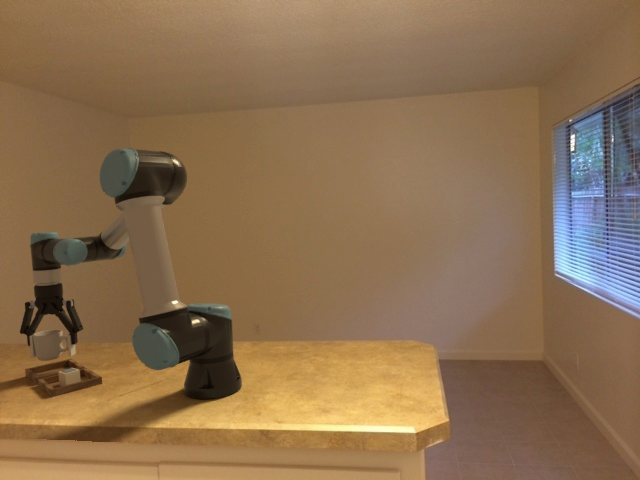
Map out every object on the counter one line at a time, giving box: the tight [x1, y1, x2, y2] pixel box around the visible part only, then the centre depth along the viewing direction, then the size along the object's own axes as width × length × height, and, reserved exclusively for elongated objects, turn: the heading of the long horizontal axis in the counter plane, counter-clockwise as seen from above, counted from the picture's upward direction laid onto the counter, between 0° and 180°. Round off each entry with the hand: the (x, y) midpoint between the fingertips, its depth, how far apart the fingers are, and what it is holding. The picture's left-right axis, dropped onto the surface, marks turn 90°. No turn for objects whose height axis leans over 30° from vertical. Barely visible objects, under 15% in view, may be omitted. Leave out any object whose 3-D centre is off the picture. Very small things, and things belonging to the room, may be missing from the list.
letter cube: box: [58, 368, 81, 386], centre depth 140 cm, size 4×4×4 cm
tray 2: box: [37, 367, 103, 398], centre depth 140 cm, size 13×13×2 cm
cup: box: [33, 329, 68, 362], centre depth 149 cm, size 11×8×8 cm
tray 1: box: [24, 358, 86, 386], centre depth 150 cm, size 13×13×2 cm
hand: (53, 355), depth 150 cm, fingers closed on cup, 11 cm apart
